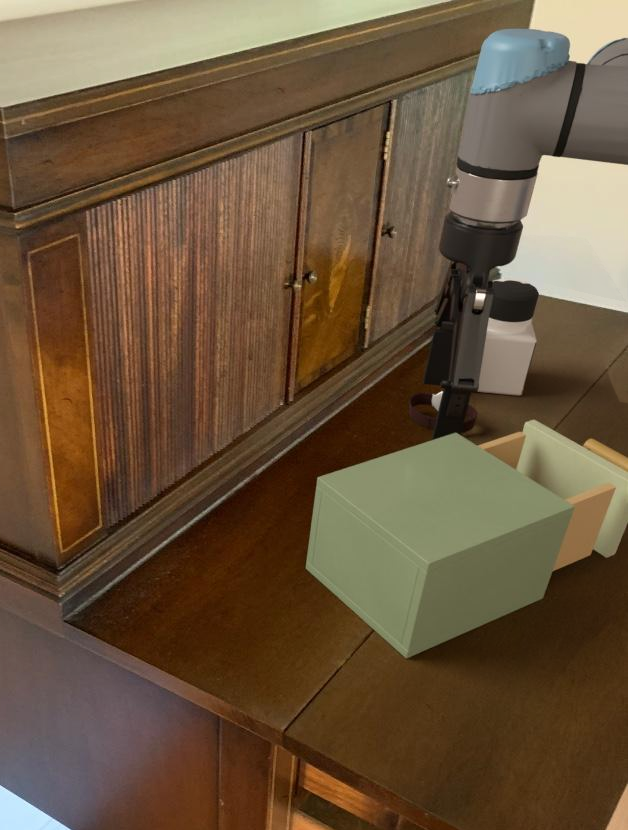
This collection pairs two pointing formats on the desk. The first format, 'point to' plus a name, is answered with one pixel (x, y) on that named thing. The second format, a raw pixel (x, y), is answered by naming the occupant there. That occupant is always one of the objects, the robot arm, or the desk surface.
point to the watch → (435, 401)
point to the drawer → (573, 485)
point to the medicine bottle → (509, 338)
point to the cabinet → (434, 540)
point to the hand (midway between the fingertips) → (439, 411)
